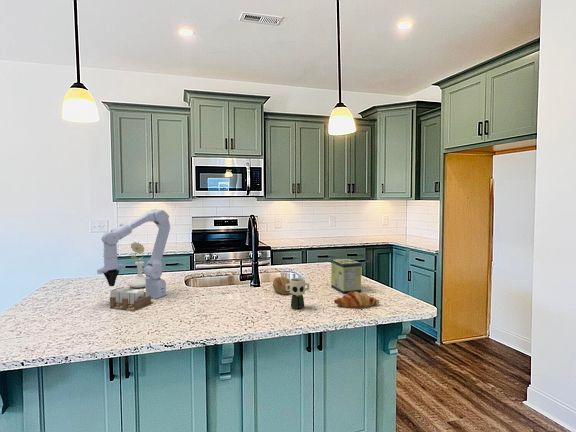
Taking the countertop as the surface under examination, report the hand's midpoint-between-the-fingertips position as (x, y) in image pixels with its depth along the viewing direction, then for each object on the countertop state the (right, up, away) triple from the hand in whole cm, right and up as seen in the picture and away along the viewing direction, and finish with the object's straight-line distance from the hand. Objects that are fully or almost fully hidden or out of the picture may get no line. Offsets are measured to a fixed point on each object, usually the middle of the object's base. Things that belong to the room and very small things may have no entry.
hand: (111, 285), depth 178 cm
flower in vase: (0, -7, +32) cm, 33 cm away
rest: (+11, -9, -3) cm, 14 cm away
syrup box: (+1, -4, +1) cm, 4 cm away
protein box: (+115, -7, +23) cm, 117 cm away
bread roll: (+81, -7, +19) cm, 83 cm away
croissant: (+116, -9, -5) cm, 116 cm away
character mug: (+88, -9, -8) cm, 89 cm away
